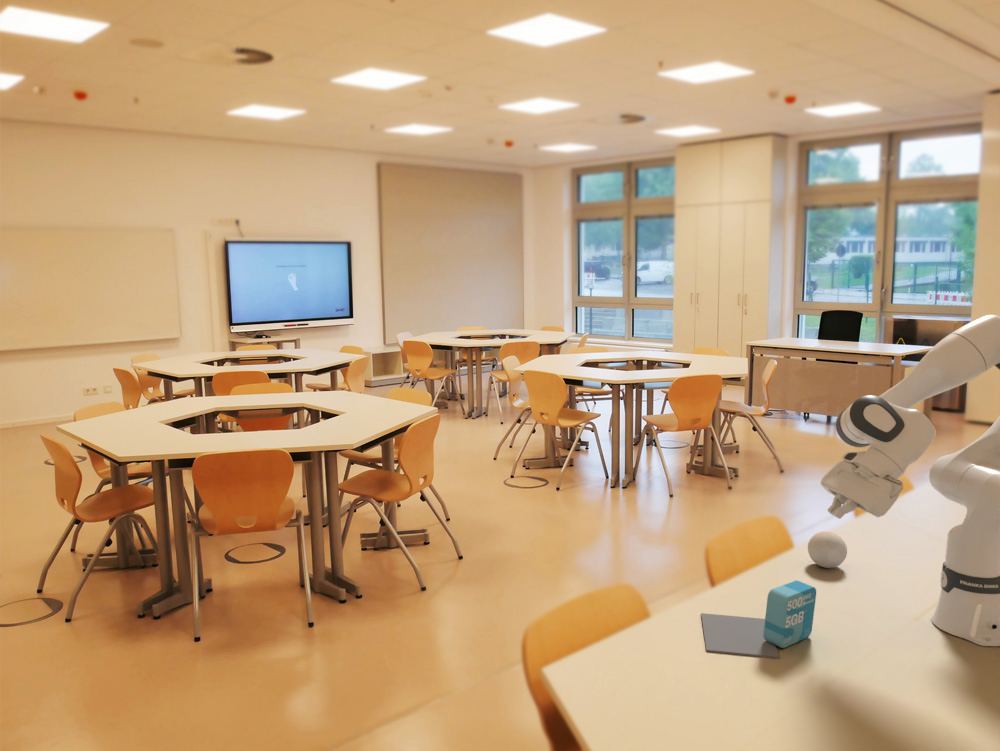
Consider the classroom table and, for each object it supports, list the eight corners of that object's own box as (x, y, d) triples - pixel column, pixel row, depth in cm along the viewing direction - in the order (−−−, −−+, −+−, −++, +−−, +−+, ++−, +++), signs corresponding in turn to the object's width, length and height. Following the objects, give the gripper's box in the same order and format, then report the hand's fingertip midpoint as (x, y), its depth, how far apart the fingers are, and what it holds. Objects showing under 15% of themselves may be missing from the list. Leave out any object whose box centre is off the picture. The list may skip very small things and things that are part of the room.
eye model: (836, 559, 219) (839, 526, 217) (852, 574, 209) (854, 538, 207) (801, 559, 219) (803, 525, 217) (814, 573, 209) (817, 538, 207)
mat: (767, 620, 181) (767, 619, 181) (779, 658, 163) (779, 656, 163) (701, 614, 184) (701, 613, 184) (706, 651, 166) (706, 649, 166)
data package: (780, 650, 166) (786, 597, 164) (762, 641, 170) (767, 589, 168) (811, 636, 173) (817, 586, 171) (793, 628, 177) (799, 578, 175)
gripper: (916, 493, 163) (870, 540, 163) (857, 468, 183) (816, 510, 183) (898, 473, 162) (852, 520, 162) (841, 450, 182) (800, 492, 182)
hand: (833, 514), depth 172 cm, fingers closed
